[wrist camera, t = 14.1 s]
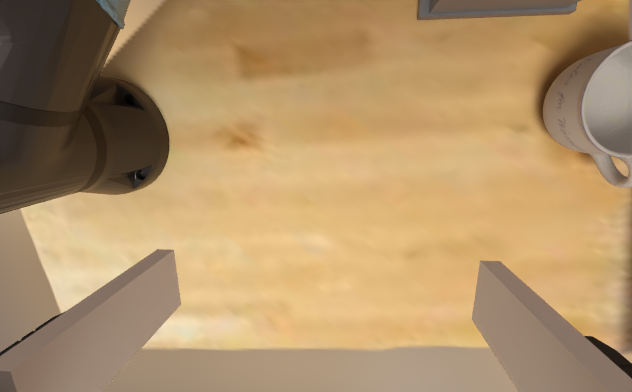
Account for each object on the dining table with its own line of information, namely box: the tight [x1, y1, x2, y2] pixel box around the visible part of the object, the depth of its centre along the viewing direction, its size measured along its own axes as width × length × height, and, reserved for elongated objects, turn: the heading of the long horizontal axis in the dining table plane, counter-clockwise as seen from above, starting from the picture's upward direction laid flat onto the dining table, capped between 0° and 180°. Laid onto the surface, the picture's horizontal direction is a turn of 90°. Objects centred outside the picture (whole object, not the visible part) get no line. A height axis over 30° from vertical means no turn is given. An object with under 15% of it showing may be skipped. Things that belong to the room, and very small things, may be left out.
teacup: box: [543, 40, 632, 188], centre depth 30 cm, size 14×11×8 cm
